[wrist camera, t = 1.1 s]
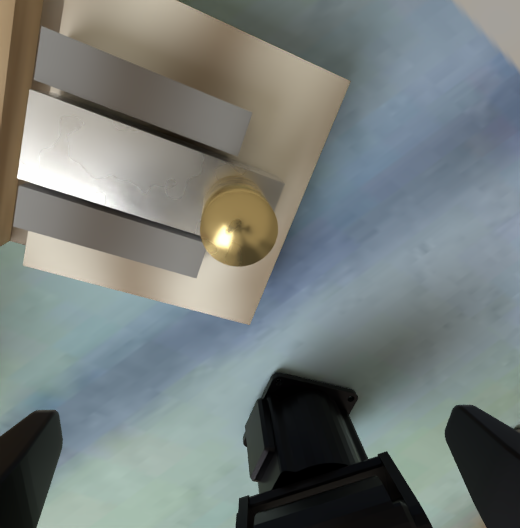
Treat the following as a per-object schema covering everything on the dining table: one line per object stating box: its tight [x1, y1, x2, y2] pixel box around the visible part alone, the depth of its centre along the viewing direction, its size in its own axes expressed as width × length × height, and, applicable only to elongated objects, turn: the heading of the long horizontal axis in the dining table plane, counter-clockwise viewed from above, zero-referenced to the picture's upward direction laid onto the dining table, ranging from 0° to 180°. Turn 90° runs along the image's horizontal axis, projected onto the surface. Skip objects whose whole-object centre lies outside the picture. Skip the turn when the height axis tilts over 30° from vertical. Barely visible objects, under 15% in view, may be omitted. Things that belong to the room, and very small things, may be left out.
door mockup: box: [0, 0, 350, 325], centre depth 14 cm, size 23×12×6 cm, turn 69°
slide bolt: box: [17, 89, 285, 267], centre depth 13 cm, size 9×3×5 cm, turn 69°
